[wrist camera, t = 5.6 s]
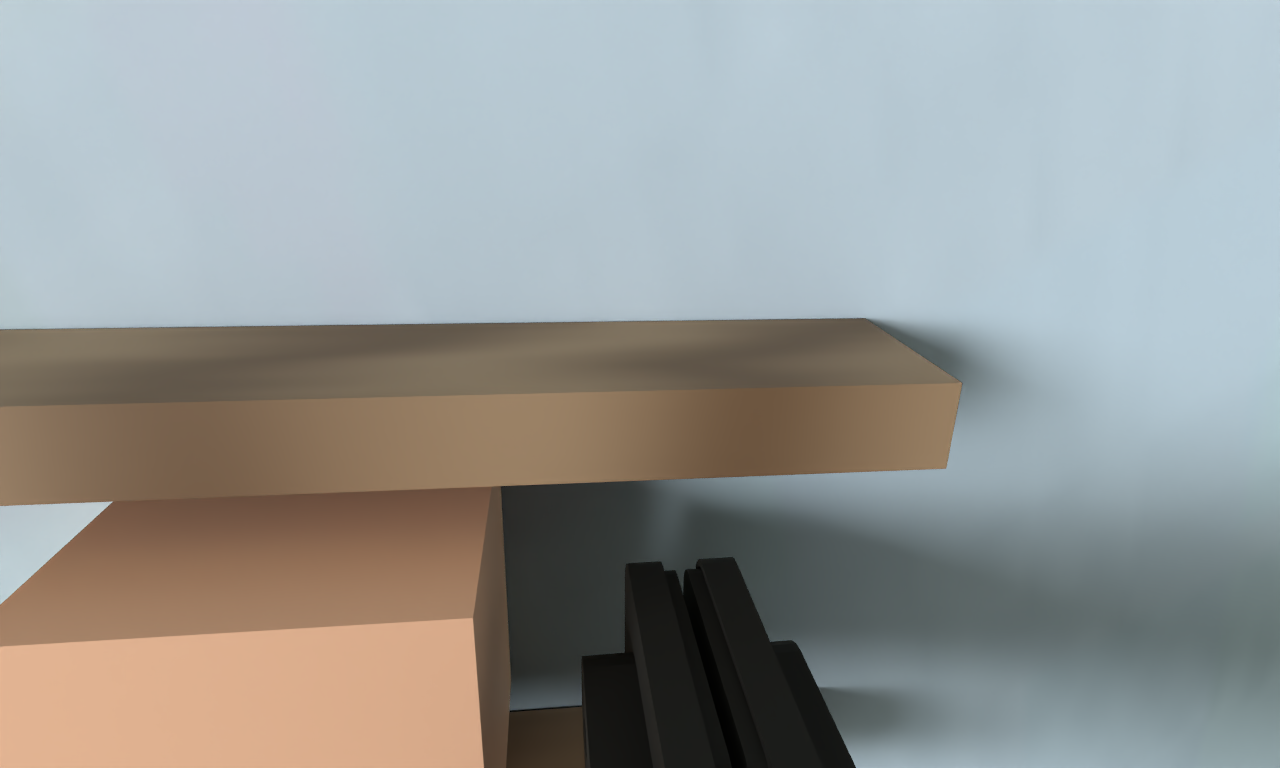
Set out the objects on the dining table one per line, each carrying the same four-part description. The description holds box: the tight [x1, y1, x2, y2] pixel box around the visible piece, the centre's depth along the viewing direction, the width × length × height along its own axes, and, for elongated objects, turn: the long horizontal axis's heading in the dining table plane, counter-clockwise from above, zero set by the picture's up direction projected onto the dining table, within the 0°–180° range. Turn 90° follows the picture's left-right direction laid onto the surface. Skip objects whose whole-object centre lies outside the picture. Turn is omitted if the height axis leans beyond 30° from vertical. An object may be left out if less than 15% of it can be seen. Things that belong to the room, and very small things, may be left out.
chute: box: [0, 318, 962, 768], centre depth 10 cm, size 22×11×5 cm, turn 89°
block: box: [0, 486, 511, 768], centre depth 10 cm, size 5×5×4 cm
